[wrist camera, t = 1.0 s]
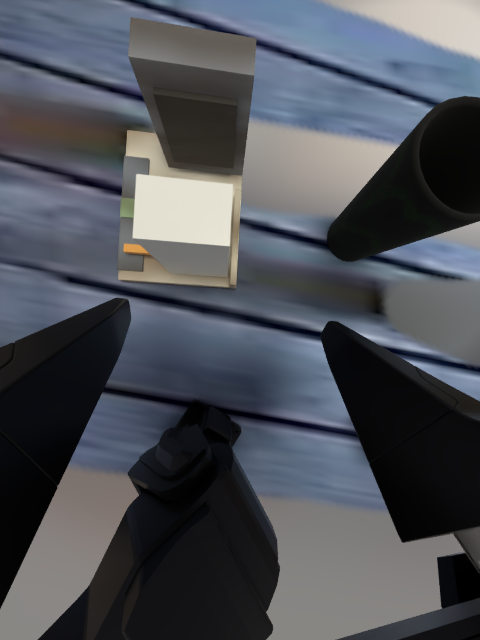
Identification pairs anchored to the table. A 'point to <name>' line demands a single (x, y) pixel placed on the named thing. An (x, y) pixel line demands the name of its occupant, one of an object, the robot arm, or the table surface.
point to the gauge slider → (183, 224)
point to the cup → (417, 186)
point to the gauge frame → (187, 128)
